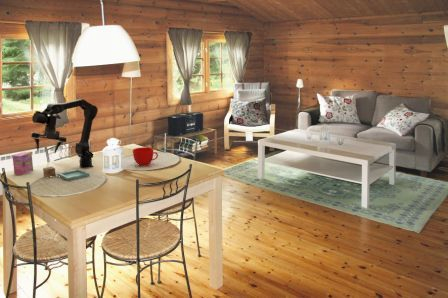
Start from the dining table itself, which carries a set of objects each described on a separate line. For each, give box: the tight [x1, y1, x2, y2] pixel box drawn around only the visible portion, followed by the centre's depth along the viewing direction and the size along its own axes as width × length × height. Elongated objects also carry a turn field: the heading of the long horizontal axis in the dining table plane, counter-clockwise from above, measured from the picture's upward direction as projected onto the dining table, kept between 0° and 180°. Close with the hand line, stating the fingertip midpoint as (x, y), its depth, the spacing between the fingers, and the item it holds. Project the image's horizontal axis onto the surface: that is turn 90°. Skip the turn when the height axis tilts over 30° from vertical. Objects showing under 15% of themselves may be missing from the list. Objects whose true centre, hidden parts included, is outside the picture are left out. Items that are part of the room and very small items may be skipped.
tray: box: [57, 168, 90, 182], centre depth 246 cm, size 13×13×2 cm
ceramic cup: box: [132, 146, 159, 166], centre depth 270 cm, size 13×17×10 cm
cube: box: [42, 166, 57, 178], centre depth 247 cm, size 5×5×5 cm
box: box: [12, 151, 34, 176], centre depth 254 cm, size 10×6×12 cm, turn 168°
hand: (46, 152), depth 244 cm, fingers open, 9 cm apart
